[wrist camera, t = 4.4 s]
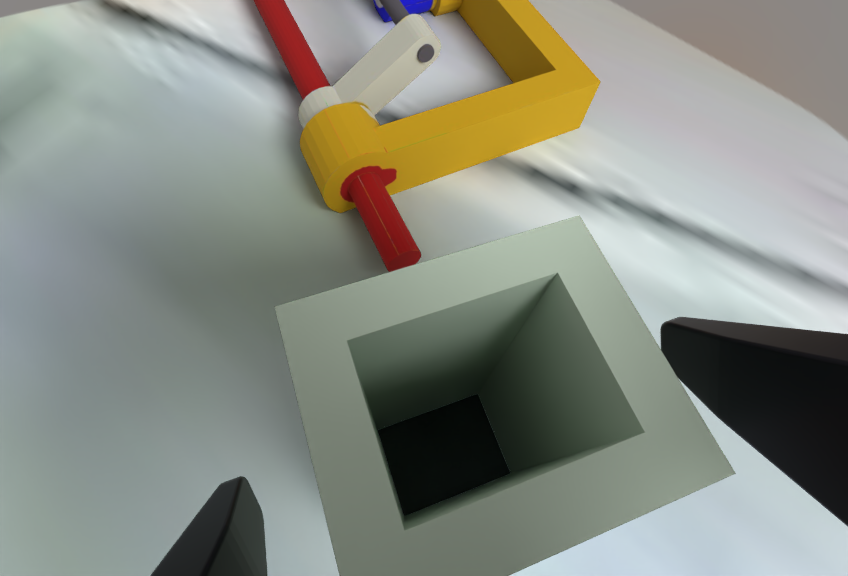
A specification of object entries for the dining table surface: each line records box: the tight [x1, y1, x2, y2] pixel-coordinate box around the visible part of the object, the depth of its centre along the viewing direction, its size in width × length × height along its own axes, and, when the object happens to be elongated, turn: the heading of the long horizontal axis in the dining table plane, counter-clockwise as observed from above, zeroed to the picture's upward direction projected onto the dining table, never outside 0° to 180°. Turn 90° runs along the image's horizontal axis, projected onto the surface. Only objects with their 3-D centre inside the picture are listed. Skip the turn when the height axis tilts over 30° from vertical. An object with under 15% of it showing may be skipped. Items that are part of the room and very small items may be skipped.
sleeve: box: [274, 215, 736, 576], centre depth 12 cm, size 5×6×10 cm
